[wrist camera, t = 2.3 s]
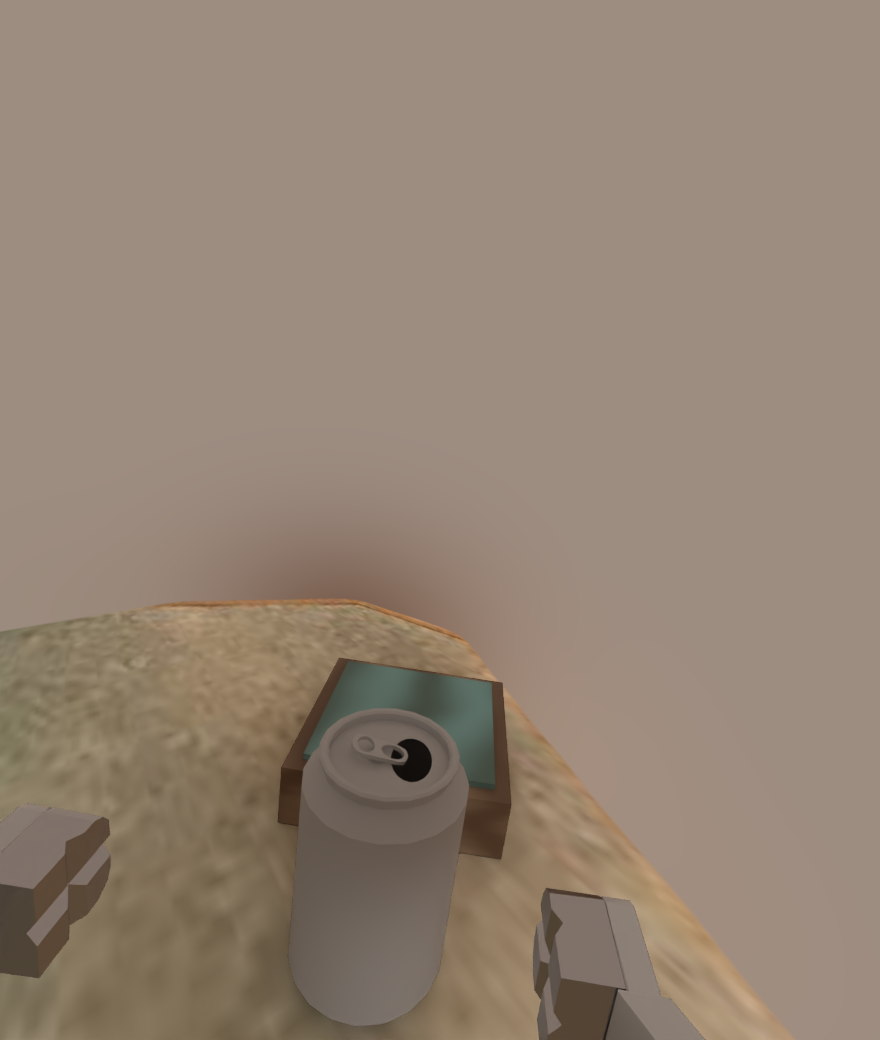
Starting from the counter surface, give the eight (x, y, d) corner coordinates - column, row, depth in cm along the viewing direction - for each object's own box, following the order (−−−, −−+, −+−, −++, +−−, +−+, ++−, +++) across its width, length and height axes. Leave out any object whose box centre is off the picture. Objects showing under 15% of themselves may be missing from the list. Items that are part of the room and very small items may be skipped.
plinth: (277, 822, 34) (281, 761, 33) (335, 699, 48) (339, 653, 47) (501, 859, 34) (512, 799, 33) (495, 724, 47) (503, 678, 46)
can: (441, 1048, 24) (481, 817, 21) (267, 1035, 23) (283, 797, 21) (439, 892, 31) (468, 704, 28) (306, 880, 31) (322, 689, 28)
